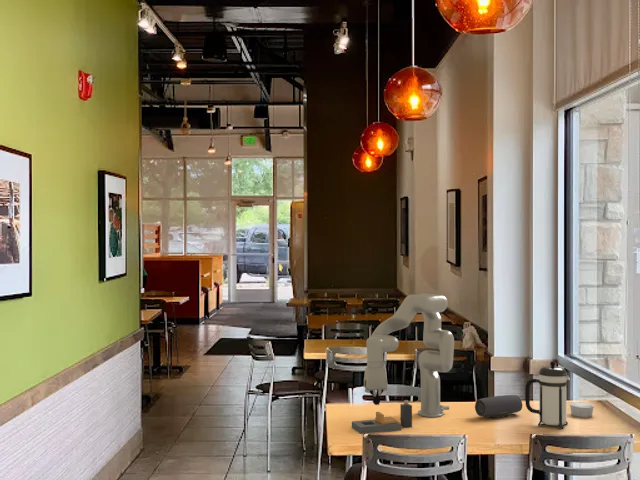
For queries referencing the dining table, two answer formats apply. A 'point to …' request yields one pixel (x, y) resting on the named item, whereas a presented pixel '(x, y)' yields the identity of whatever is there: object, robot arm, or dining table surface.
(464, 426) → the dining table surface
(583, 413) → the ramekin
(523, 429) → the dining table surface
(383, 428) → the socket block
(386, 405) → the dining table surface
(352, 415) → the dining table surface
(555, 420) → the coffee press
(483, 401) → the bluetooth speaker
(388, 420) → the orange l-shaped block
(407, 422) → the dark grey square bottle
